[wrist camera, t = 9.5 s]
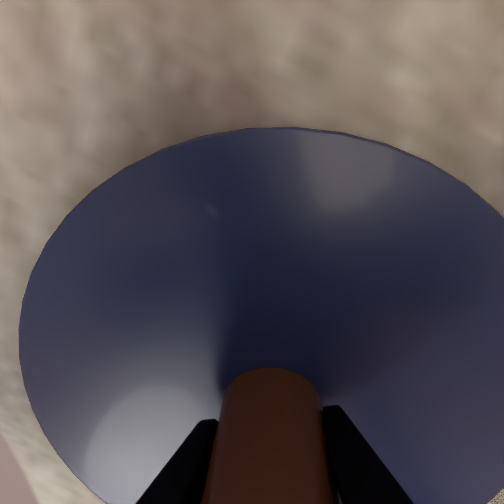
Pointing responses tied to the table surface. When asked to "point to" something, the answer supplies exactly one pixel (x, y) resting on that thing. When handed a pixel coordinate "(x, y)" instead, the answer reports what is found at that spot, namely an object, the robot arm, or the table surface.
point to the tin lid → (273, 320)
